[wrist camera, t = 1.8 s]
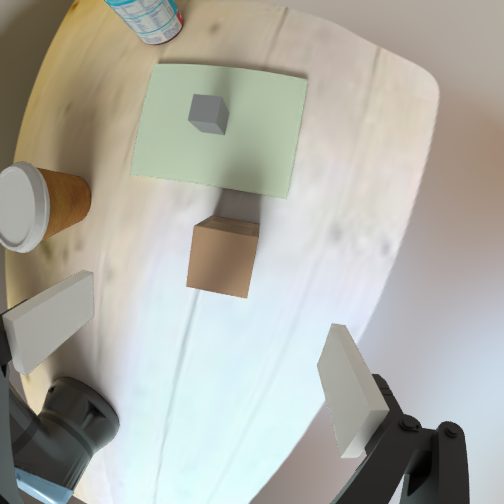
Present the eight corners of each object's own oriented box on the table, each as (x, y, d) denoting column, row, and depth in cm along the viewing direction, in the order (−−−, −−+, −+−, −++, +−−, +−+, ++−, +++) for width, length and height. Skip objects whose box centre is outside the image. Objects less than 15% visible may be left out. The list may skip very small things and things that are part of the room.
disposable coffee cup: (64, 153, 31) (1, 148, 19) (112, 182, 31) (50, 185, 20) (42, 214, 32) (-18, 228, 21) (86, 247, 33) (26, 273, 22)
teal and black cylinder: (189, 11, 26) (154, -60, 11) (178, 46, 27) (133, -22, 13) (148, 14, 26) (100, -46, 11) (136, 48, 27) (77, -7, 13)
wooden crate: (204, 261, 33) (186, 286, 25) (211, 215, 32) (194, 225, 23) (250, 270, 33) (247, 298, 25) (259, 224, 32) (258, 237, 23)
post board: (133, 175, 31) (103, 173, 24) (157, 66, 28) (135, 43, 21) (285, 198, 31) (292, 202, 24) (306, 82, 28) (317, 58, 21)
